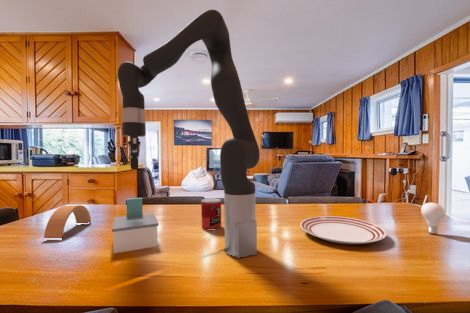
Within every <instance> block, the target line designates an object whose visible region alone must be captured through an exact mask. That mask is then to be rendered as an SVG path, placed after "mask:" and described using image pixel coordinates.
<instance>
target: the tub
mask: <svg viewBox="0 0 470 313" xmlns="http://www.w3.org/2000/svg"><path fill="white" fill-rule="evenodd" d="M112 235H113V237H112V238H113V239H112V240H113V254H118V253H119V252H120V253H123V252H131V251H137V250H142V249H143V250H144V249H149V248H154V247H158V226H155V227H147V228H139V229H132V230H124V231H116V232H112Z"/></svg>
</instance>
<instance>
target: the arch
mask: <svg viewBox="0 0 470 313" xmlns="http://www.w3.org/2000/svg"><path fill="white" fill-rule="evenodd" d="M72 213H73V215H74V219H75V224H76V223H88V222H89V223H90V222H91V223H92V218H91V214H90V211H89V210H88V208H87V207H86V206H85V205H80V204H79V205H78V204H77V205H62V206H60V207H58V208H56V210H54V212H53V213H52V214H51V216H50V217H49V219H48V221H47V223H46V227H45V229H44V234H43V239H44V238H62V237H63V238H64V230H65V227H66V224H67V221H68V219H69V217H70V216H71V214H72Z"/></svg>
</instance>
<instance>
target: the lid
mask: <svg viewBox="0 0 470 313" xmlns="http://www.w3.org/2000/svg"><path fill="white" fill-rule="evenodd" d="M155 226H157V227H159V222H158V220H157V218H156V215H155V214H154V212H152V213H144V214H143V197H132V198H126V216H117V217H116V216H115V217H114V218H113V223H112V227H111V232H112V233H113V232H116V231H124V230H132V229H139V228H147V227H155Z"/></svg>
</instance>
